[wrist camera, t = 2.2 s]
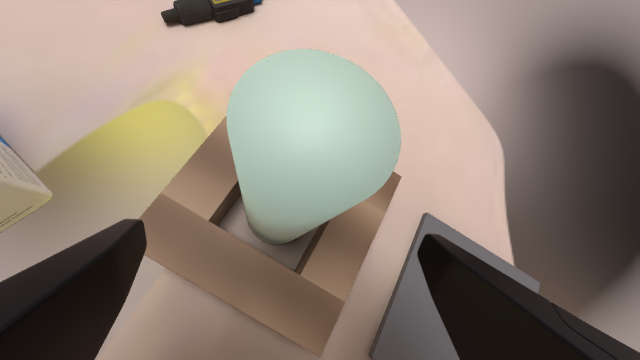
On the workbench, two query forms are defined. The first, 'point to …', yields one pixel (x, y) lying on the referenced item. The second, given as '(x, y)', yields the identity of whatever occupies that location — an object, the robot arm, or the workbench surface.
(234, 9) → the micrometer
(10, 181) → the ink box
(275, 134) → the pin
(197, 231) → the socket block
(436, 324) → the mat
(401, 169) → the workbench surface
